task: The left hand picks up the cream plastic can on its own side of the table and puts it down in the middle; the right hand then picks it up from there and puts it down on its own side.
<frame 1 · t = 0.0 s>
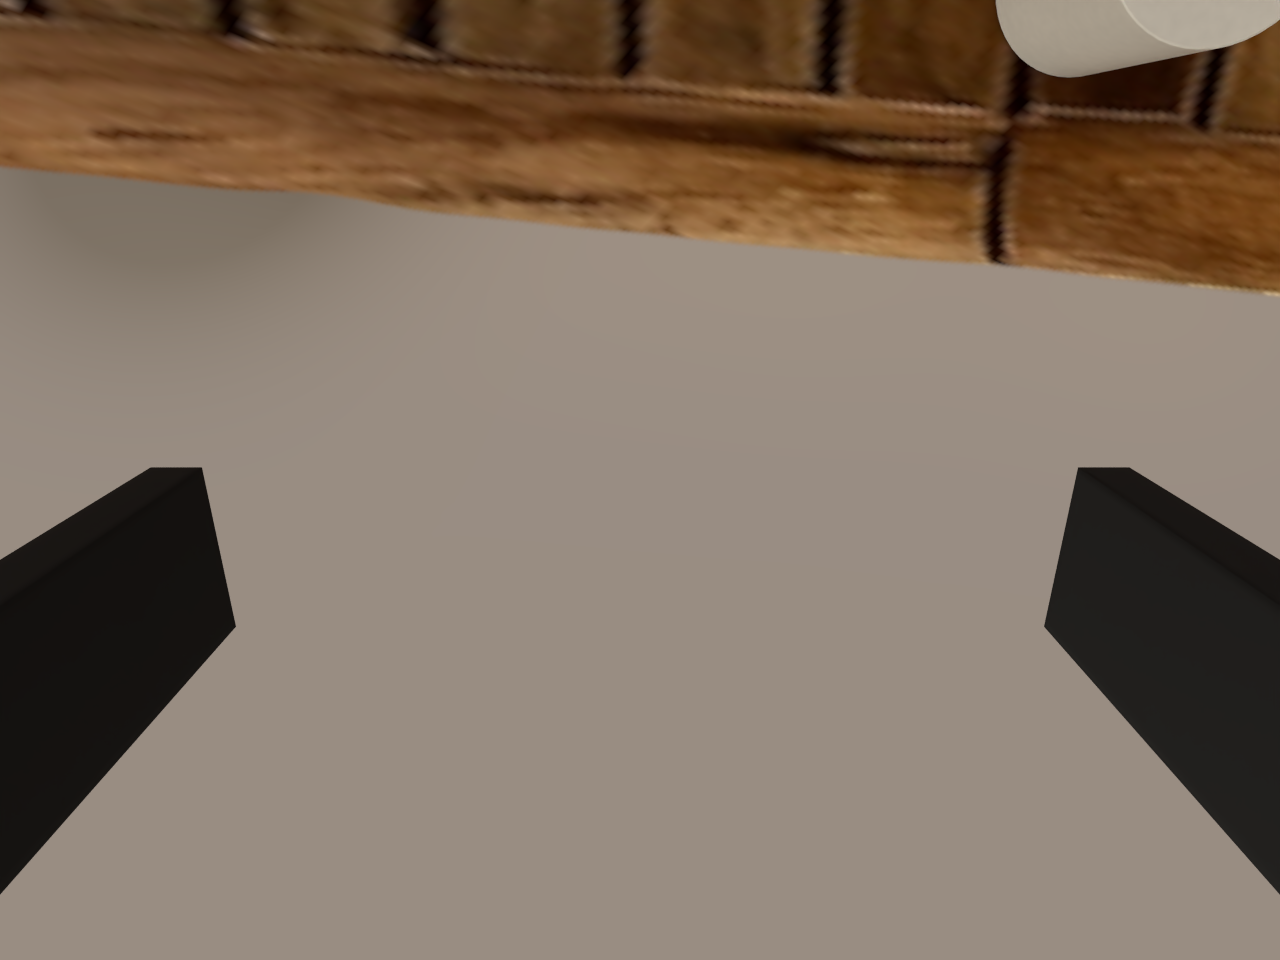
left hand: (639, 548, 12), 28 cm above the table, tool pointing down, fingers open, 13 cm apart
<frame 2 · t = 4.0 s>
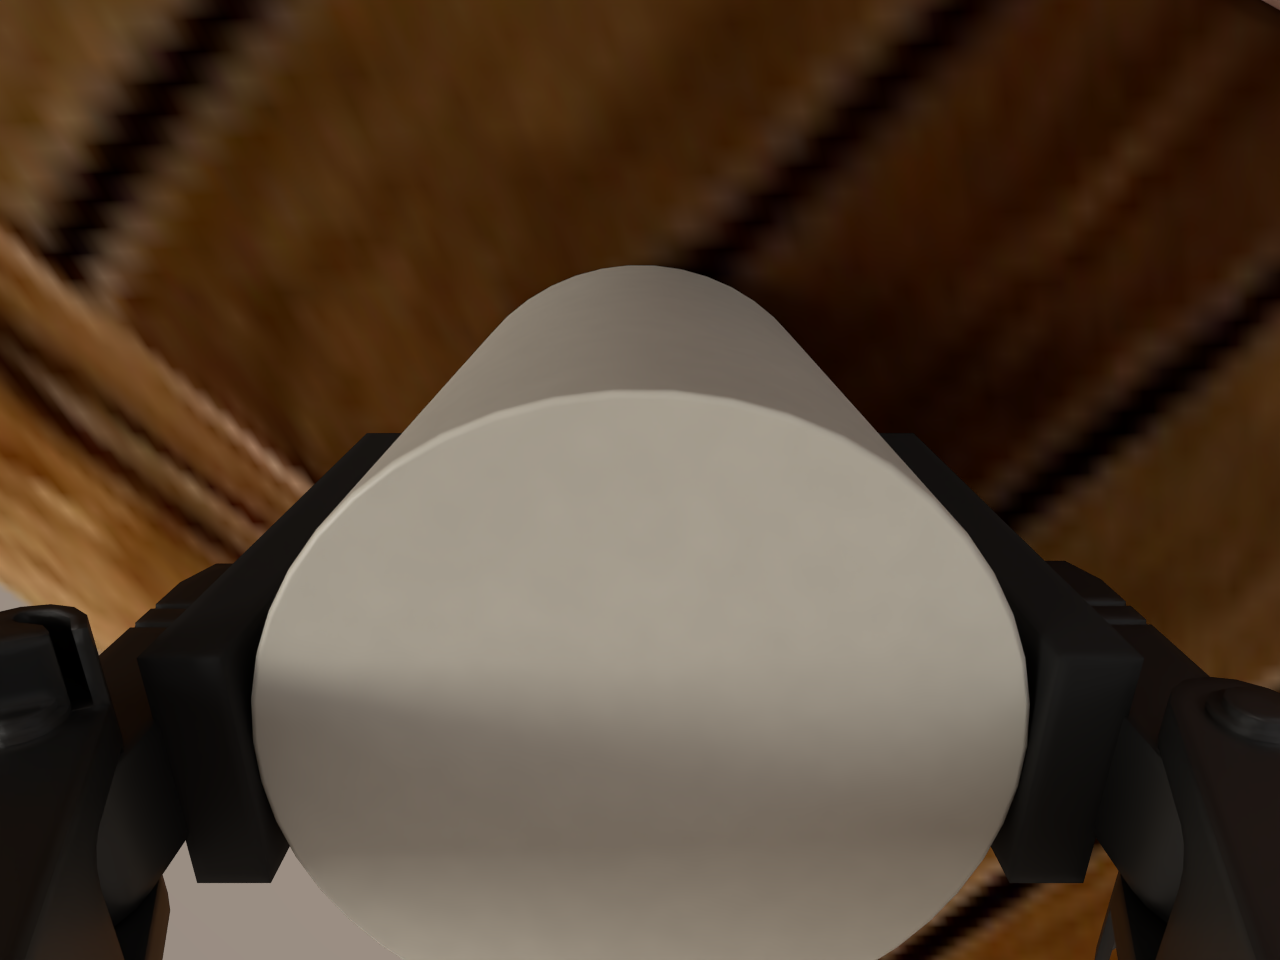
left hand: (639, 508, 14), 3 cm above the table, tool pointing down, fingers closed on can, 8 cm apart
can: (640, 457, 16), on the table, touching left hand
when the left hand's fingers open (4 cm above the table, at t = 8.2 s): can drops 2 cm, on the table.
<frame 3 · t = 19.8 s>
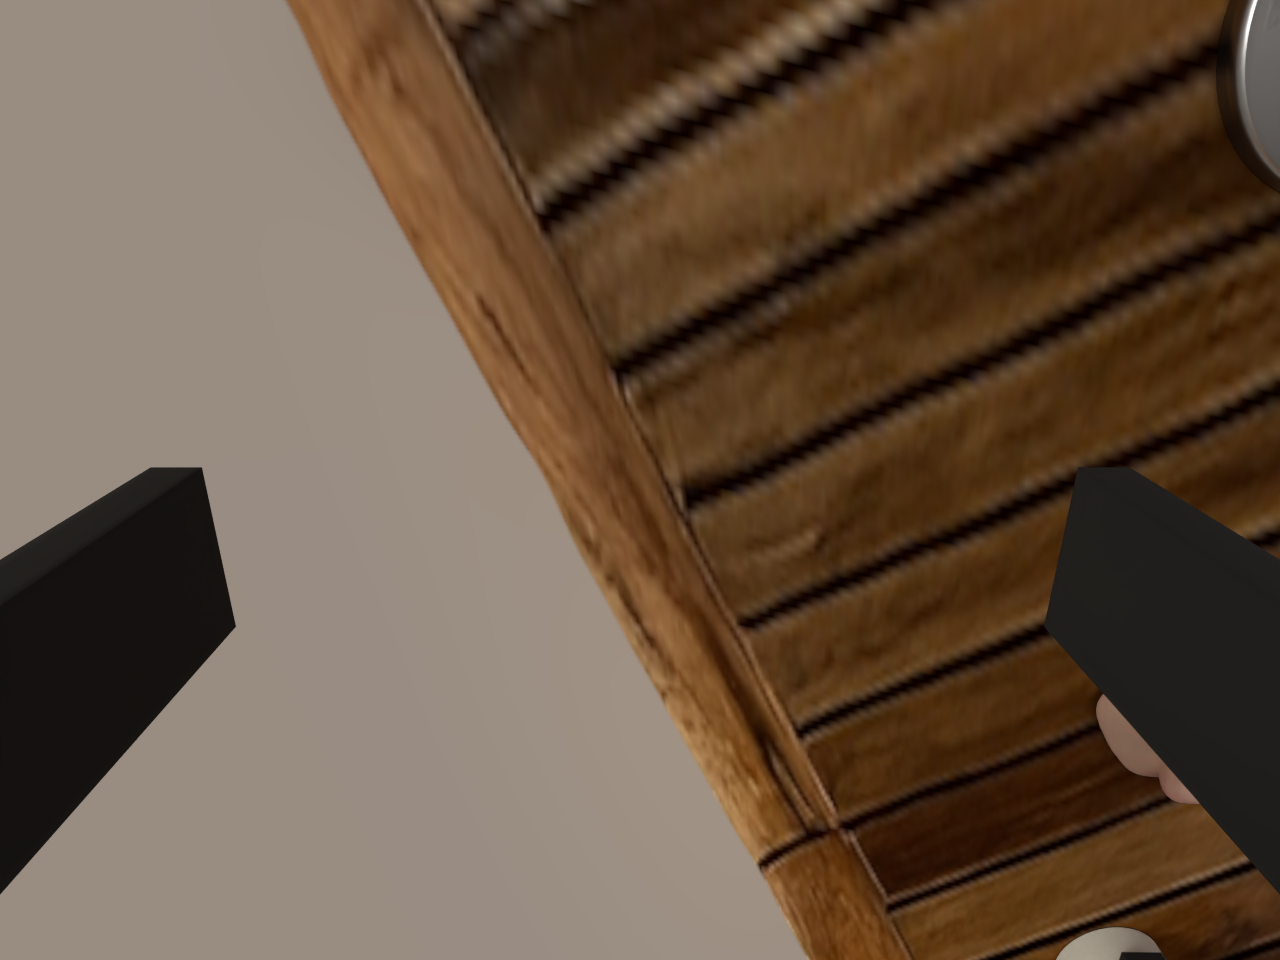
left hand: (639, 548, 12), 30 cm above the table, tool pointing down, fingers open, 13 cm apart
anatomical model: (1204, 710, 50), on the table
when the right hand's fingers open (4 cm above the table, at t = 24.2 s): can drops 2 cm, on the table.
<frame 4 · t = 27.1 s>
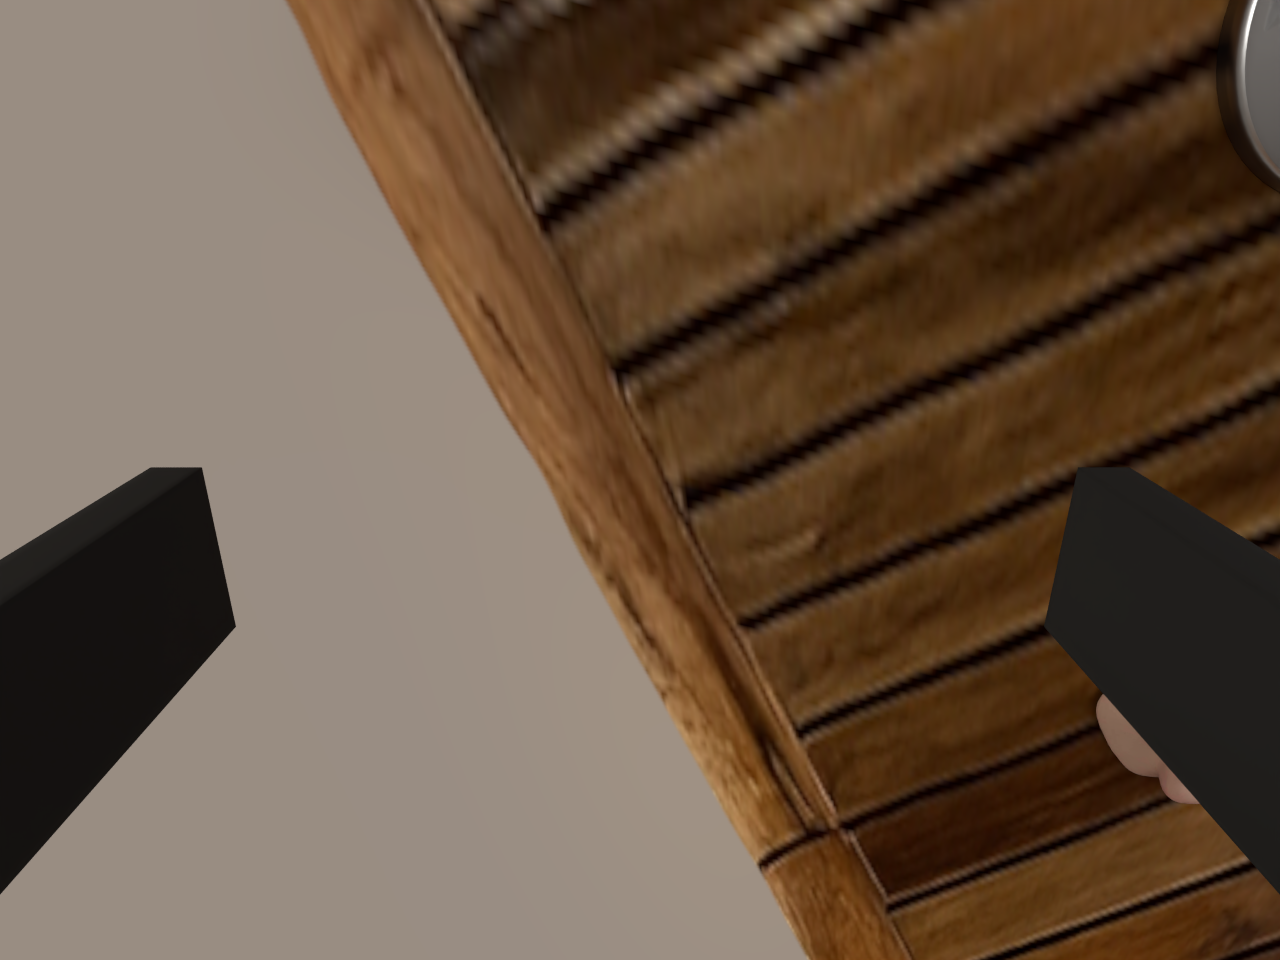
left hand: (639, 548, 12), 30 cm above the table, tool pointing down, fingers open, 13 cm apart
anatomical model: (1204, 710, 50), on the table
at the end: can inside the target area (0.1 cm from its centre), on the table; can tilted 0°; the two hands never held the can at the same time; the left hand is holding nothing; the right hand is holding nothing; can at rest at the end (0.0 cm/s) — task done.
